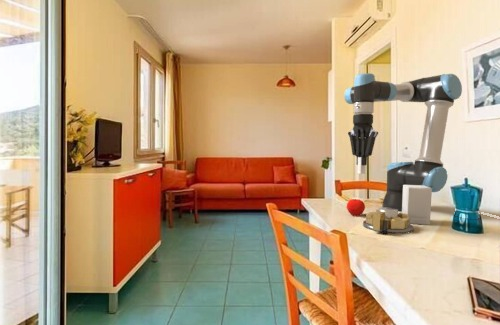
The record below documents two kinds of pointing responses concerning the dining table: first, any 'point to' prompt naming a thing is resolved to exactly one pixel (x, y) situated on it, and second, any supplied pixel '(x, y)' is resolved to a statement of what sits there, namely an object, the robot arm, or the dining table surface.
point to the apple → (355, 207)
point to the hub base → (388, 215)
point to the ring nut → (394, 223)
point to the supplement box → (417, 203)
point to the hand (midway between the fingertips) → (361, 173)
